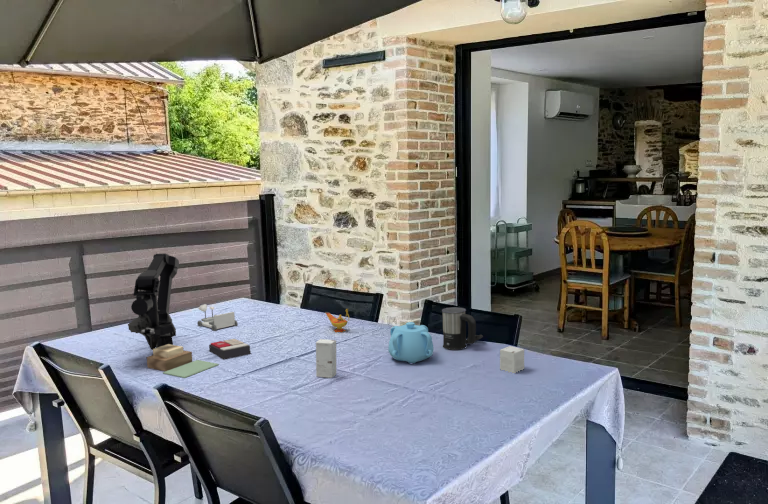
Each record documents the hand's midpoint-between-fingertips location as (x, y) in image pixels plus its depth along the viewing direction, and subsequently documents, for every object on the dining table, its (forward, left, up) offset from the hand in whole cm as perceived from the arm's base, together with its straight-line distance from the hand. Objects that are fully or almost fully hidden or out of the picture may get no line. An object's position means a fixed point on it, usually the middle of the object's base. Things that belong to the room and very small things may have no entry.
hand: (152, 349), depth 234 cm
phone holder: (-19, +50, -5) cm, 54 cm away
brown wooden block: (+9, 0, -5) cm, 10 cm away
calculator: (+17, +22, -5) cm, 28 cm away
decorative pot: (+85, +45, -5) cm, 96 cm away
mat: (+20, 0, -5) cm, 20 cm away
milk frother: (+95, +69, -5) cm, 118 cm away
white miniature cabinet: (+68, +16, -5) cm, 70 cm away
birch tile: (+8, 0, -1) cm, 8 cm away
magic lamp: (+37, +67, -5) cm, 77 cm away
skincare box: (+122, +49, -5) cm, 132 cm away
